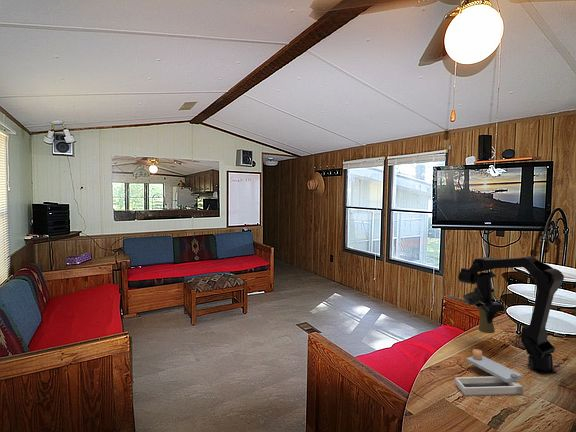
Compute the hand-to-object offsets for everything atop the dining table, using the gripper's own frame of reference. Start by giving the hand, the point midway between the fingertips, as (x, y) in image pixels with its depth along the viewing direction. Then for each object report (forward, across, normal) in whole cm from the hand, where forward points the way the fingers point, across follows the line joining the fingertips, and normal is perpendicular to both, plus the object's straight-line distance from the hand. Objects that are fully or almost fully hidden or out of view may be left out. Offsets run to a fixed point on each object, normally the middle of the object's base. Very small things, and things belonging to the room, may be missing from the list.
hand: (486, 321), depth 139 cm
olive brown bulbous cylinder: (+4, 0, 0) cm, 4 cm away
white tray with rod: (+13, +30, -16) cm, 36 cm away
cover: (+10, +22, -10) cm, 26 cm away
